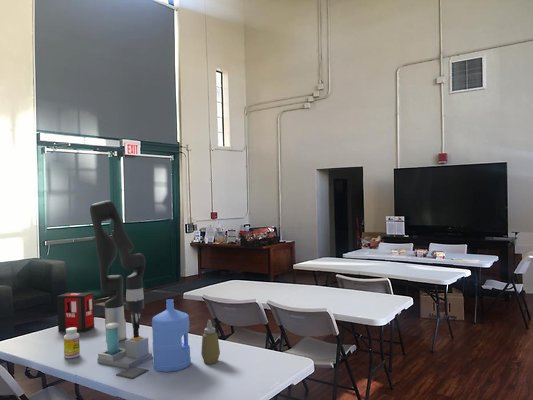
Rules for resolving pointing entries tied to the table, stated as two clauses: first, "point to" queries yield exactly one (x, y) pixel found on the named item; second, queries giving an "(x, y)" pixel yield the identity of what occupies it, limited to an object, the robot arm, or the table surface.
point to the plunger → (137, 338)
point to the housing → (127, 354)
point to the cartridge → (112, 338)
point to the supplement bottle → (71, 343)
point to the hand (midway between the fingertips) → (136, 337)
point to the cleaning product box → (75, 311)
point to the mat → (132, 372)
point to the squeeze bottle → (210, 345)
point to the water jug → (170, 339)
